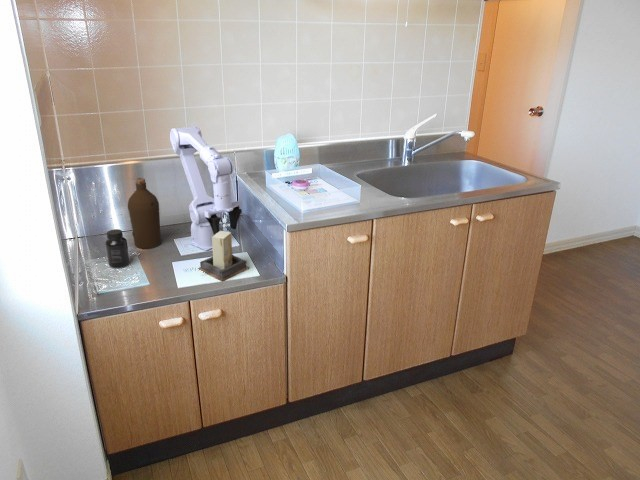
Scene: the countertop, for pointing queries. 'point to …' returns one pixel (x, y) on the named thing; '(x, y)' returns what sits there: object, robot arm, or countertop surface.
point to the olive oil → (144, 217)
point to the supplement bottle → (117, 249)
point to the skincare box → (222, 249)
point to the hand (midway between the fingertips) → (225, 231)
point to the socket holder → (226, 273)
